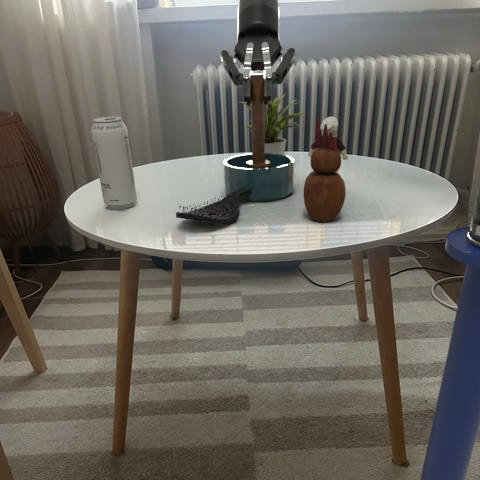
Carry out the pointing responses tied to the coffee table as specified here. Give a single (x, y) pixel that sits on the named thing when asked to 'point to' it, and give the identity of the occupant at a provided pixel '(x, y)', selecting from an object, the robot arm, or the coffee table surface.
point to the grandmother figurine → (332, 127)
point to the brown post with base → (257, 124)
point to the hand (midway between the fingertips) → (257, 101)
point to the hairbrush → (217, 209)
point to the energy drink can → (114, 162)
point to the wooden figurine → (324, 179)
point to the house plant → (275, 126)
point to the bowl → (260, 177)
